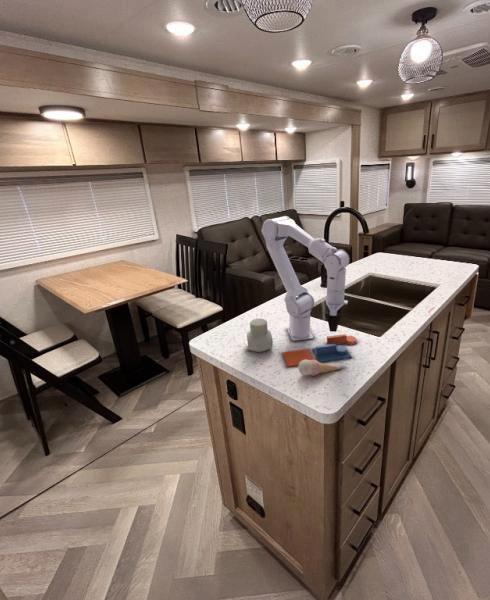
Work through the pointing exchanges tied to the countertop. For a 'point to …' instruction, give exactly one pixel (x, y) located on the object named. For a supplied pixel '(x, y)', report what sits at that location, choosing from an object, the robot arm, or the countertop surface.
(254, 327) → the air freshener
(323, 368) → the ice cream cone
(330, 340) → the terracotta spoon
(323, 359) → the blue mat
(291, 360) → the terracotta mat
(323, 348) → the blue spoon
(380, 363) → the countertop surface
